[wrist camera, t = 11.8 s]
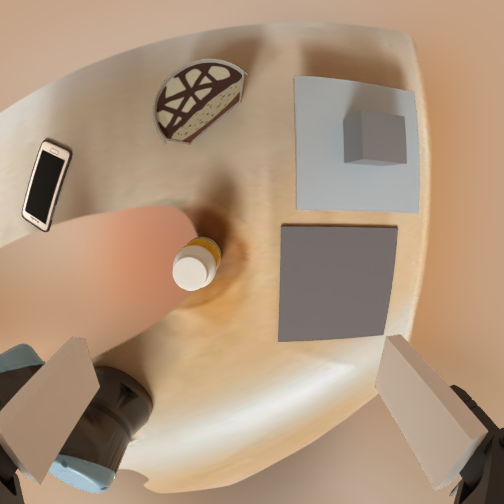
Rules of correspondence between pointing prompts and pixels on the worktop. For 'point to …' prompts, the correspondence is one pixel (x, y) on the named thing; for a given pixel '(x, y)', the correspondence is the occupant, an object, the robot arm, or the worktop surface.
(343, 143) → the lid
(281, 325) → the tray
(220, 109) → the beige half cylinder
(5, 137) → the worktop surface
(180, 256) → the supplement bottle
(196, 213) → the worktop surface
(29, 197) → the cell phone
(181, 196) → the worktop surface
